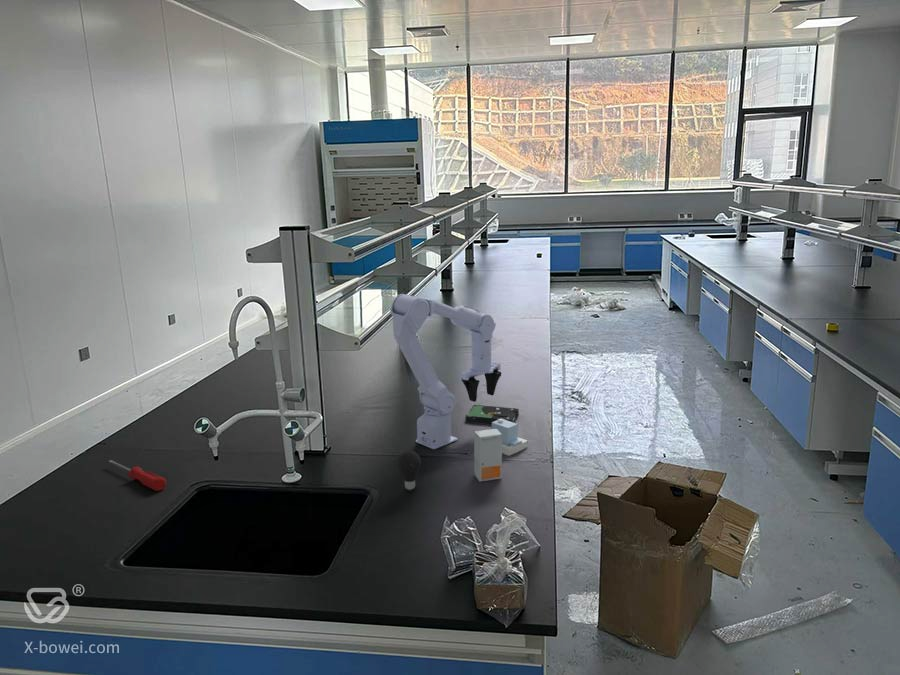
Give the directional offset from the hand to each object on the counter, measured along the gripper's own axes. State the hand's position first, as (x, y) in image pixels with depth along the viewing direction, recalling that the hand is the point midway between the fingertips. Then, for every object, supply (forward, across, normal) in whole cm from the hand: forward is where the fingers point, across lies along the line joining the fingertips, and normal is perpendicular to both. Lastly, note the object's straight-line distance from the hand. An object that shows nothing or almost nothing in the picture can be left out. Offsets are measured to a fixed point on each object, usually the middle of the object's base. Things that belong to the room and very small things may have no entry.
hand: (481, 397), depth 189 cm
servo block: (+10, -6, -14) cm, 18 cm away
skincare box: (+10, -23, -24) cm, 35 cm away
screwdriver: (+10, -86, +41) cm, 96 cm away
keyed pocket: (+9, -6, -14) cm, 18 cm away
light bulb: (+10, -41, -15) cm, 45 cm away
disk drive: (+10, +8, +3) cm, 13 cm away
